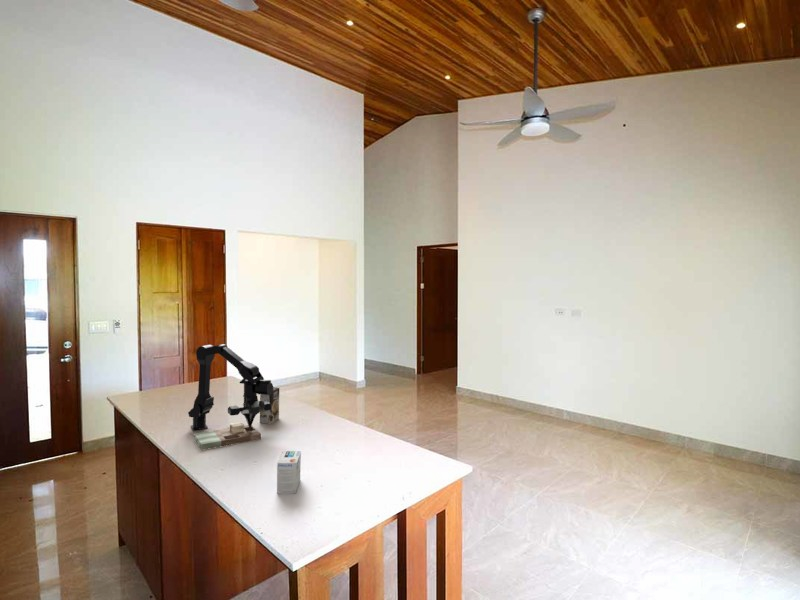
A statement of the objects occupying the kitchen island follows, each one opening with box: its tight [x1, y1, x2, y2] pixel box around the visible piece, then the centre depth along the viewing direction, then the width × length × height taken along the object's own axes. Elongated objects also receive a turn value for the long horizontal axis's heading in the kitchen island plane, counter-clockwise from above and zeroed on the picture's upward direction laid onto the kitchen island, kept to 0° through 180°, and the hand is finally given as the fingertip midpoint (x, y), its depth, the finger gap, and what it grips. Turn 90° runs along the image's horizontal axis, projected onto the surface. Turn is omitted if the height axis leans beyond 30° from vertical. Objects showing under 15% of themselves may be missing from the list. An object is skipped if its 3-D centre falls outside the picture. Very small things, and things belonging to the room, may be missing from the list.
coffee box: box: [259, 386, 280, 424], centre depth 227 cm, size 9×6×16 cm
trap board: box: [193, 424, 262, 451], centre depth 200 cm, size 15×25×2 cm, turn 125°
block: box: [229, 421, 245, 433], centre depth 204 cm, size 5×5×3 cm
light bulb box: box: [276, 450, 302, 495], centre depth 156 cm, size 11×7×11 cm, turn 5°
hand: (249, 426), depth 207 cm, fingers closed
